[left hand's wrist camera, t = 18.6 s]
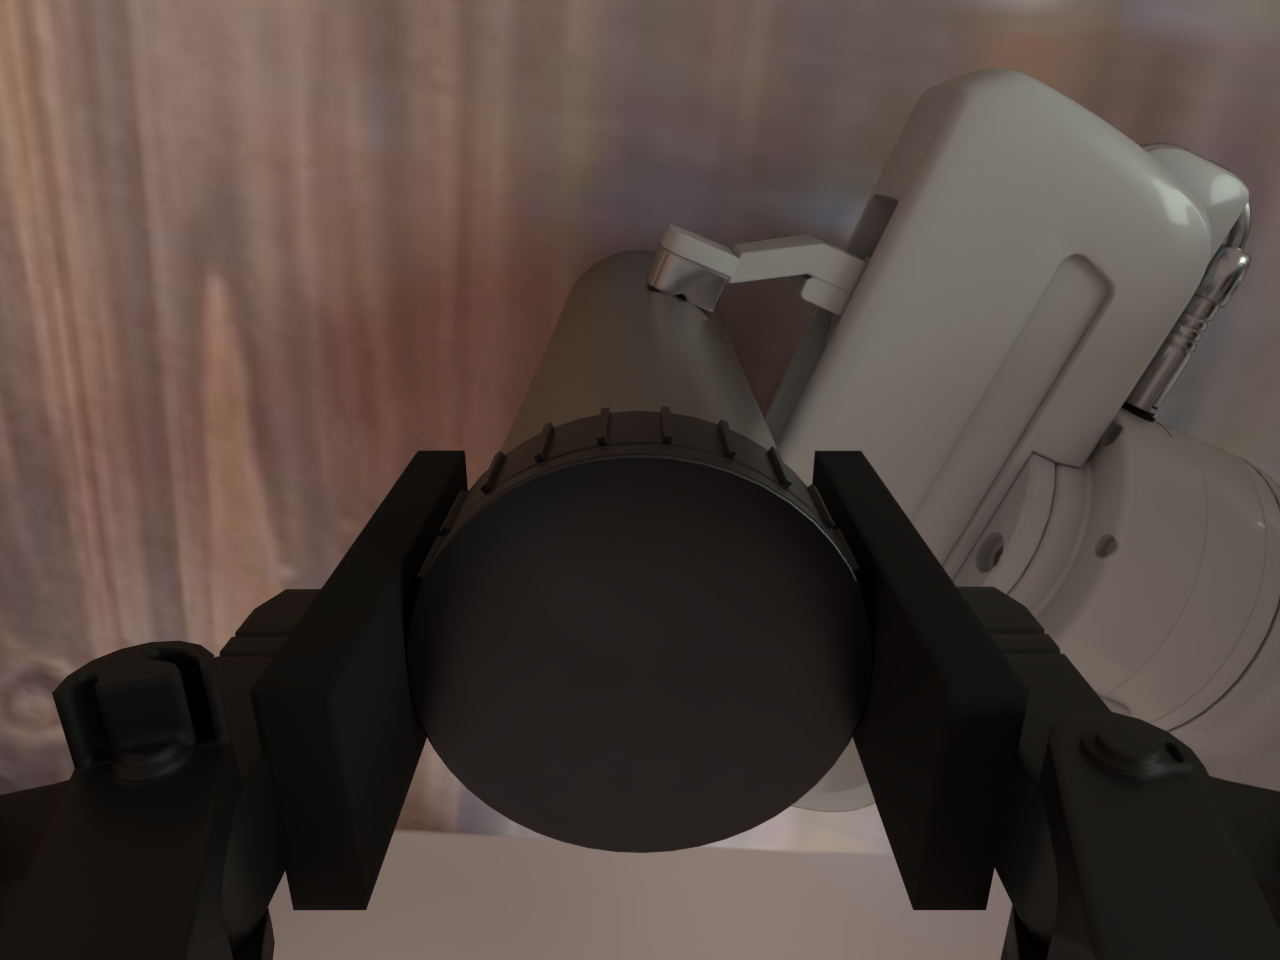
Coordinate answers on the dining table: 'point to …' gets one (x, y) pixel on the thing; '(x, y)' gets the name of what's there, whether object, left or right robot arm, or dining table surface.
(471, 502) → the lid
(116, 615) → the dining table surface
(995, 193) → the right robot arm
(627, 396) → the cylinder
